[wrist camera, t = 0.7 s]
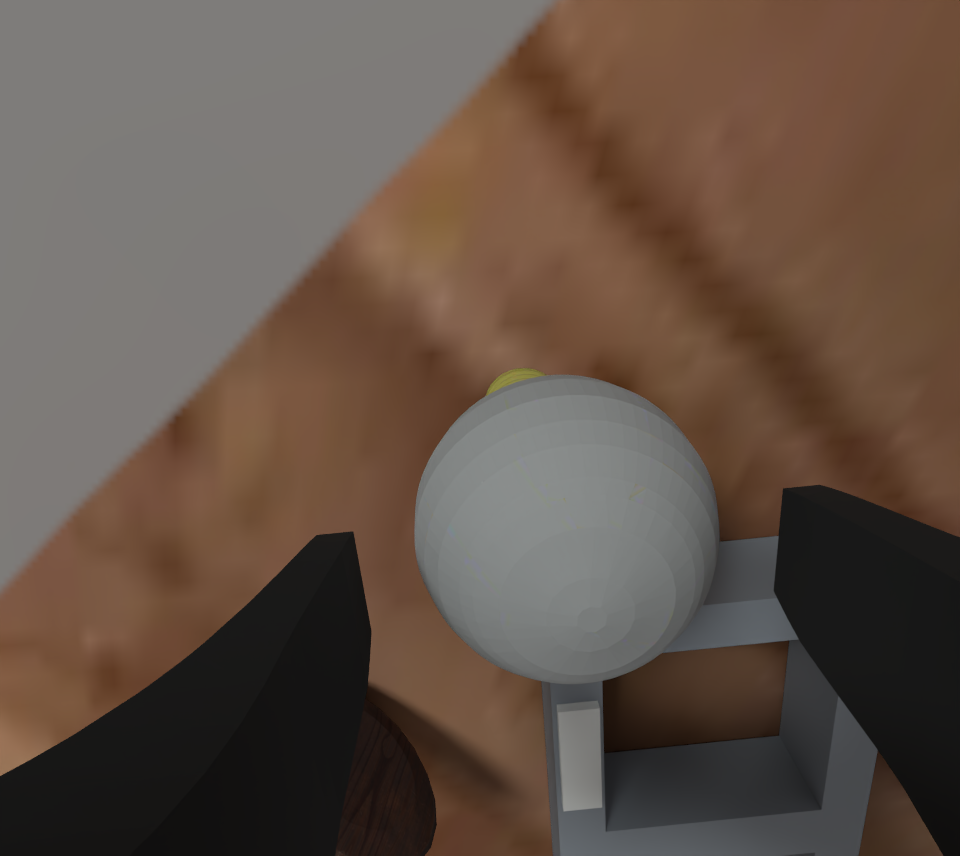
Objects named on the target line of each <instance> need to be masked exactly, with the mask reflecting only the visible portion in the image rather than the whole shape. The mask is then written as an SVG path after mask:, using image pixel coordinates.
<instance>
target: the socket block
mask: <svg viewBox="0 0 960 856" xmlns="http://www.w3.org/2000/svg"><path fill="white" fill-rule="evenodd" d="M778 538H779V536H773V537H763V538H753V539H743V540H733V541H723V542H719V552H718V558H717V563H716V568H715V572H714V576H713V580H712V583H711V587H710V590H709V592H708V594H707V597H706V599H705V601H704V603H703V605H702V607H701V609H700V610H699V612H698V614H697V615H696V617H695V618H694V620H693V621H692V622H691V623H690V625H689V626H688V627H687V628H686V630H685V631H684V632H683V633H682V634H681V635H680V636H679V637H678V638H677V639H676V640H675V641H674V642H673V643H672V644H671V645H670V646H669V647H668V648H667V649H666V650H665V651H663V652H662V653H667V652H677V651H687V650H697V649H707V648H717V647H727V646H737V645H747V644H757V643H767V642H777V641H787V640H789V648H788V658H787V667H786V676H785V686H784V695H783V704H782V713H781V723H780V732H779V736H771V737H761V738H751V739H741V740H731V741H721V742H711V743H701V744H692V745H682V746H672V747H662V748H652V749H642V750H632V751H622V752H612V753H604V734H603V691H602V681H599V682H593V683H585V684H556V683H549V682H544V681H542V696H543V711H544V726H545V741H546V757H547V772H548V787H549V802H550V817H551V832H552V847H553V856H858V855H859V850H860V844H861V839H862V833H863V828H864V822H865V817H866V811H867V806H868V801H869V795H870V790H871V784H872V779H873V773H874V768H875V762H876V757H877V751H878V750H877V748H876V747H875V745H874V744H873V743H872V741H871V740H870V739H869V737H868V736H867V734H866V733H865V732H864V730H863V729H862V728H861V726H860V725H859V723H858V722H857V721H856V719H855V718H854V717H853V715H852V714H851V712H850V711H849V710H848V708H847V707H846V706H845V704H844V703H843V701H842V700H841V699H840V697H839V696H838V695H837V693H836V692H835V690H834V689H833V688H832V686H831V685H830V684H829V682H828V681H827V679H826V678H825V677H824V675H823V674H822V672H821V671H820V669H819V668H818V667H817V665H816V664H815V662H814V661H813V660H812V658H811V657H810V655H809V654H808V653H807V651H806V650H805V648H804V647H803V645H802V644H801V642H800V641H799V639H798V637H797V635H796V633H795V632H794V630H793V628H792V626H791V624H790V622H789V621H788V619H787V617H786V615H785V613H784V611H783V609H782V607H781V605H780V603H779V601H778V599H777V597H776V595H775V593H774V580H775V570H776V559H777V549H778Z"/></svg>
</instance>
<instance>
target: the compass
mask: <svg viewBox="0 0 960 856" xmlns="http://www.w3.org/2000/svg"><path fill="white" fill-rule="evenodd" d="M436 825H437V823H436V807H435V798H434V795H433V791H432V788H431V785H430V781H429V778H428V775H427V773H426V770H425V768H424V766H423V764H422V762H421V761H420V759H419V757H418V755H417V753H416V751H415V749H414V747H413V746H412V745H411V743H410V742H409V741H408V739H407V738H406V737H405V735H404V734H403V733H402V731H401V730H400V729H399V727H398V726H397V725H396V724H395V723H394V722H393V721H392V720H391V719H390V718H389V717H388V716H386V715H385V714H384V713H383V712H382V711H381V710H380V709H379V708H378V707H376V706H375V705H373V704H372V703H370V702H369V701H368V700H366V699H365V702H364V708H363V713H362V718H361V723H360V728H359V733H358V738H357V742H356V747H355V752H354V757H353V762H352V767H351V772H350V777H349V781H348V786H347V791H346V796H345V801H344V806H343V811H342V816H341V821H340V828H339V834H338V840H337V846H336V855H335V856H425V854H426V853H427V852H428V850H429V849H430V848H431V845H432V841H433V837H434V833H435V829H436Z"/></svg>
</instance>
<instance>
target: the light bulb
mask: <svg viewBox="0 0 960 856" xmlns="http://www.w3.org/2000/svg"><path fill="white" fill-rule="evenodd" d="M719 540H720V534H719V520H718V510H717V502H716V496H715V491H714V488H713V484H712V481H711V478H710V476H709V473H708V471H707V469H706V467H705V465H704V463H703V461H702V459H701V458H700V456H699V455H698V453H697V452H696V450H695V449H694V448H693V446H692V445H691V444H690V442H689V441H688V440H687V438H686V437H685V436H684V434H683V433H682V432H681V430H680V429H679V428H678V426H677V425H676V424H675V423H674V422H673V421H672V420H671V419H670V418H669V417H668V416H667V415H666V414H665V413H664V412H663V411H661V410H660V409H659V408H658V407H656V406H655V405H654V404H652V403H651V402H649V401H648V400H646V399H644V398H642V397H641V396H639V395H637V394H635V393H633V392H631V391H628V390H626V389H623V388H621V387H618V386H616V385H613V384H611V383H608V382H604V381H601V380H598V379H594V378H589V377H584V376H575V375H549V376H547V375H546V374H544V373H543V372H540V371H538V370H535V369H529V368H518V369H514V370H510V371H508V372H505V373H503V374H502V375H500V376H499V377H498V378H496V380H495V381H494V382H493V383H492V384H491V386H490V387H489V389H488V391H487V394H486V397H484V398H482V399H481V400H479V401H478V402H477V403H475V404H474V405H473V406H471V407H470V408H469V409H468V410H467V411H466V412H464V413H463V414H462V415H461V416H460V417H459V418H458V419H457V420H456V422H455V423H454V424H453V425H452V426H451V427H450V429H449V430H448V431H447V433H446V434H445V436H444V437H443V438H442V440H441V441H440V443H439V444H438V446H437V447H436V449H435V451H434V452H433V454H432V456H431V457H430V459H429V461H428V463H427V466H426V468H425V470H424V472H423V475H422V478H421V481H420V484H419V489H418V493H417V498H416V509H415V550H416V558H417V562H418V566H419V570H420V573H421V576H422V578H423V581H424V584H425V585H426V587H427V589H428V591H429V593H430V595H431V597H432V599H433V601H434V603H435V604H436V606H437V608H438V610H439V612H440V613H441V615H442V616H443V618H444V619H445V621H446V622H447V623H448V625H449V626H450V627H451V628H452V629H453V631H454V632H455V633H456V634H457V635H458V636H459V637H460V638H461V639H462V640H463V641H465V642H466V643H467V644H468V645H469V646H470V647H471V648H472V649H473V650H474V651H475V652H477V653H478V654H479V655H480V656H482V657H483V658H485V659H486V660H488V661H489V662H491V663H493V664H494V665H496V666H498V667H500V668H502V669H504V670H507V671H509V672H512V673H514V674H517V675H520V676H524V677H527V678H531V679H535V680H539V681H544V682H549V683H556V684H585V683H593V682H599V681H604V680H608V679H612V678H615V677H618V676H621V675H624V674H626V673H628V672H631V671H633V670H635V669H637V668H639V667H641V666H643V665H645V664H646V663H648V662H650V661H651V660H653V659H654V658H656V657H657V656H658V655H660V654H661V653H662V652H663V651H665V650H666V649H667V648H668V647H669V646H670V645H671V644H672V643H673V642H674V641H675V640H676V639H677V638H678V637H679V636H680V635H681V634H682V633H683V632H684V631H685V630H686V628H687V627H688V626H689V625H690V623H691V622H692V621H693V620H694V618H695V617H696V615H697V614H698V612H699V610H700V609H701V607H702V605H703V603H704V601H705V599H706V597H707V594H708V592H709V590H710V587H711V583H712V580H713V576H714V572H715V568H716V563H717V558H718V552H719Z"/></svg>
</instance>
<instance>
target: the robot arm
mask: <svg viewBox="0 0 960 856" xmlns="http://www.w3.org/2000/svg"><path fill="white" fill-rule="evenodd" d="M774 593H775V595H776V597H777V599H778V601H779V603H780V605H781V607H782V609H783V611H784V613H785V615H786V617H787V619H788V621H789V622H790V624H791V626H792V628H793V630H794V632H795V633H796V635H797V637H798V639H799V641H800V642H801V644H802V645H803V647H804V648H805V650H806V651H807V653H808V654H809V655H810V657H811V658H812V660H813V661H814V662H815V664H816V665H817V667H818V668H819V669H820V671H821V672H822V674H823V675H824V677H825V678H826V679H827V681H828V682H829V684H830V685H831V686H832V688H833V689H834V690H835V692H836V693H837V695H838V696H839V697H840V699H841V700H842V701H843V703H844V704H845V706H846V707H847V708H848V710H849V711H850V712H851V714H852V715H853V717H854V718H855V719H856V721H857V722H858V723H859V725H860V726H861V728H862V729H863V730H864V732H865V733H866V734H867V736H868V737H869V739H870V740H871V741H872V743H873V744H874V745H875V747H876V748H877V750H878V751H879V752H880V754H881V755H882V756H883V758H884V759H885V761H886V762H887V764H888V765H889V767H890V768H891V770H892V771H893V773H894V774H895V776H896V777H897V779H898V780H899V782H900V783H901V785H902V786H903V788H904V789H905V791H906V793H907V794H908V796H909V798H910V799H911V801H912V803H913V805H914V806H915V808H916V810H917V811H918V813H919V815H920V816H921V818H922V820H923V822H924V823H925V825H926V827H927V828H928V830H929V832H930V833H931V835H932V837H933V839H934V840H935V842H936V844H937V845H938V847H939V849H940V851H941V852H942V854H943V856H960V537H957V536H954V535H952V534H949V533H947V532H944V531H941V530H939V529H936V528H934V527H931V526H929V525H926V524H924V523H921V522H919V521H916V520H914V519H911V518H909V517H906V516H904V515H901V514H899V513H896V512H894V511H891V510H889V509H886V508H884V507H881V506H879V505H876V504H874V503H871V502H868V501H866V500H863V499H861V498H858V497H855V496H853V495H850V494H847V493H844V492H841V491H838V490H835V489H832V488H829V487H825V486H822V485H814V486H804V487H794V488H784V489H783V495H782V506H781V517H780V527H779V538H778V549H777V559H776V570H775V580H774ZM370 647H371V627H370V621H369V616H368V610H367V605H366V599H365V594H364V588H363V583H362V577H361V572H360V566H359V561H358V555H357V550H356V544H355V539H354V533H353V532H343V533H333V534H323V535H316V536H315V537H314V538H313V539H312V540H311V541H310V542H309V543H308V544H307V545H306V546H305V547H304V548H303V549H302V550H301V551H300V552H299V553H298V554H297V555H296V556H295V557H294V558H293V559H292V560H291V561H290V562H289V563H288V564H287V565H286V566H285V567H284V568H283V569H282V570H281V572H280V573H279V574H278V575H277V576H276V577H275V578H273V579H272V580H271V581H270V582H269V583H268V584H267V585H266V586H265V587H264V588H263V589H262V590H261V591H260V592H259V593H258V594H257V595H256V596H255V597H254V598H253V599H252V600H251V601H250V602H249V603H248V604H247V605H246V606H245V607H244V608H243V609H242V610H240V611H239V612H238V613H237V614H236V615H235V616H234V617H233V618H232V619H230V620H229V621H228V622H227V623H226V624H225V625H224V626H223V627H221V628H220V629H219V630H218V631H217V632H216V633H215V634H214V635H213V636H211V637H210V638H209V639H208V640H207V641H206V642H205V643H203V644H202V645H201V646H200V647H199V648H197V649H196V650H195V651H194V652H193V653H191V654H190V655H189V656H187V657H186V658H185V659H184V660H182V661H181V662H180V663H179V664H177V665H176V666H175V667H173V668H172V669H171V670H169V671H168V672H167V673H165V674H164V675H163V676H161V677H160V678H158V679H157V680H156V681H154V682H153V683H152V684H150V685H149V686H148V687H146V688H145V689H143V690H142V691H141V692H139V693H138V694H136V695H135V696H133V697H132V698H130V699H128V700H127V701H125V702H124V703H122V704H121V705H119V706H118V707H116V708H115V709H113V710H111V711H110V712H108V713H107V714H105V715H104V716H102V717H101V718H99V719H98V720H96V721H94V722H93V723H91V724H90V725H88V726H87V727H85V728H84V729H82V730H81V731H79V732H77V733H76V734H74V735H73V736H71V737H69V738H68V739H66V740H64V741H62V742H61V743H59V744H57V745H55V746H54V747H52V748H50V749H49V750H47V751H45V752H43V753H42V754H40V755H38V756H36V757H35V758H33V759H31V760H29V761H27V762H26V763H24V764H22V765H20V766H18V767H16V768H14V769H13V770H11V771H9V772H7V773H5V774H3V775H2V776H0V856H335V855H336V846H337V840H338V834H339V828H340V821H341V816H342V811H343V806H344V801H345V796H346V791H347V786H348V781H349V777H350V772H351V767H352V762H353V757H354V752H355V747H356V742H357V738H358V733H359V728H360V723H361V718H362V713H363V708H364V702H365V697H366V692H367V687H368V675H369V662H370Z"/></svg>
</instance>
